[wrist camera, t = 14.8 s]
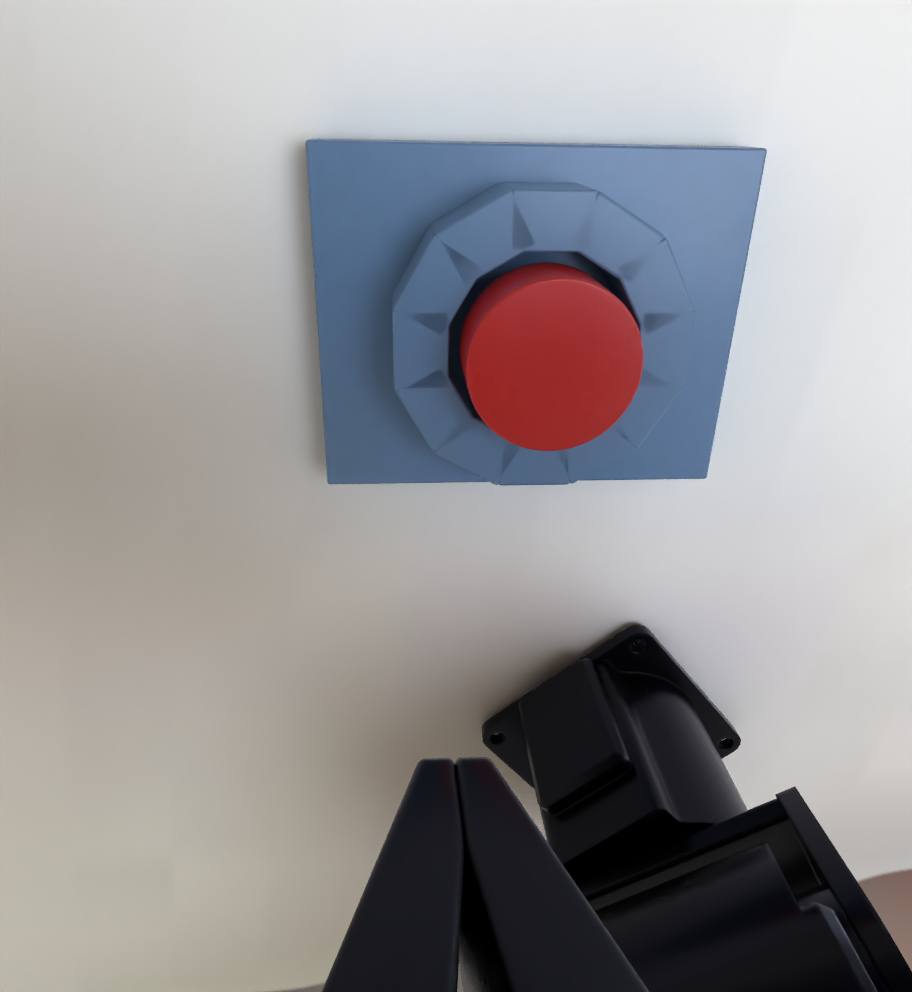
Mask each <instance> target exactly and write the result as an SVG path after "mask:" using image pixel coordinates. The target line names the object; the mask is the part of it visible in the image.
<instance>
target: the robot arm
mask: <svg viewBox="0 0 912 992" xmlns="http://www.w3.org/2000/svg"><path fill="white" fill-rule="evenodd" d="M638 639H641V640H642V641H641V642H640V643H639V644H636V645H632V643H633V642H634V641H636V640H638ZM496 732H502V733H501V734H498V735H493V733H496ZM482 737H483V742H484V744H485V745H486V746H487V747H488V748H489V749H490V750H491V751H492V752H493V753H495V754H496V755H497V756H498V757H499V758H500V759H501V760H502V761H504V762H505V763H506V764H507V765H508V766H509V767H510V768H511V769H513V770H514V771H515V772H516V773H517V774H518V775H519V776H520V777H521V778H523V779H524V780H525V781H526V782H527V783H528V784H529V785H530V786H532V787H533V788H534V789H535V791H536V796H537V801H538V804H539V806H540V810H541V815H542V820H543V824H544V829H545V834H546V839H547V841H546V840H545V838H544V837H543V835H542V834H541V832H540V831H539V829H538V828H537V826H536V825H535V823H534V822H533V820H532V819H531V818H530V816H529V815H528V813H527V812H526V810H525V809H524V807H523V806H522V804H521V803H520V801H519V800H518V799H517V797H516V796H515V794H514V793H513V791H512V790H511V788H510V787H509V785H508V784H507V782H506V781H505V779H504V778H503V777H502V775H501V774H500V772H499V771H498V769H497V768H496V766H495V765H494V763H493V762H492V761H491V760H490V759H488V758H486V757H469V758H459V759H457V760H456V762H455V764H454V762H453V760H452V759H450V758H428V759H422V760H420V761H419V762H418V764H417V766H416V768H415V771H414V773H413V776H412V778H411V780H410V783H409V785H408V787H407V790H406V792H405V795H404V797H403V799H402V802H401V804H400V807H399V809H398V811H397V814H396V816H395V818H394V821H393V823H392V826H391V828H390V830H389V833H388V835H387V838H386V840H385V842H384V845H383V847H382V849H381V852H380V854H379V857H378V859H377V861H376V864H375V866H374V868H373V871H372V873H371V876H370V878H369V880H368V883H367V885H366V888H365V890H364V892H363V895H362V897H361V899H360V902H359V904H358V907H357V909H356V911H355V914H354V916H353V919H352V921H351V923H350V926H349V928H348V930H347V933H346V935H345V938H344V940H343V942H342V945H341V947H340V949H339V952H338V954H337V957H336V959H335V961H334V964H333V966H332V969H331V971H330V973H329V976H328V978H327V980H326V983H325V985H324V988H323V990H322V992H457V981H458V964H459V963H460V971H461V978H462V985H463V991H464V992H912V971H911V970H910V968H909V966H908V965H907V963H906V961H905V959H904V958H903V956H902V954H901V953H900V951H899V949H898V947H897V946H896V944H895V942H894V941H893V939H892V937H891V935H890V934H889V932H888V931H887V929H886V927H885V925H884V924H883V922H882V921H881V919H880V917H879V916H878V914H877V912H876V911H875V909H874V908H873V906H872V904H871V903H870V901H869V900H868V898H867V897H866V895H865V893H864V892H863V890H862V889H861V887H860V886H859V884H858V883H857V881H856V879H855V878H854V876H853V875H852V873H851V872H850V870H849V869H848V867H847V866H846V864H845V863H844V861H843V859H842V858H841V856H840V855H839V853H838V852H837V850H836V849H835V847H834V846H833V844H832V843H831V841H830V839H829V838H828V836H827V835H826V833H825V832H824V830H823V829H822V827H821V826H820V824H819V823H818V821H817V820H816V818H815V816H814V815H813V813H812V812H811V810H810V809H809V807H808V806H807V804H806V803H805V801H804V800H803V798H802V796H801V795H800V793H799V792H798V790H797V789H796V787H792V788H790V789H788V790H785V791H783V792H780V793H778V794H776V797H777V798H776V799H774V800H772V801H769V802H767V803H764V804H762V805H760V806H757V807H755V808H752V809H750V810H747V808H746V806H745V804H744V802H743V800H742V798H741V796H740V795H739V793H738V791H737V789H736V787H735V785H734V783H733V781H732V779H731V777H730V775H729V773H728V771H727V769H726V767H725V765H724V763H723V761H722V758H724V757H725V756H727V755H729V754H730V753H732V752H734V751H735V750H736V749H737V748H738V747H739V745H740V741H741V739H740V737H739V735H738V734H737V732H736V730H735V728H734V727H733V726H732V724H731V723H730V722H729V721H728V720H727V719H726V718H725V716H724V715H723V714H722V713H721V712H720V711H719V710H718V708H717V707H716V706H715V705H714V704H713V703H712V702H711V700H710V699H709V698H708V697H707V696H706V695H705V693H704V692H703V691H702V690H701V689H700V688H699V687H698V685H697V684H696V683H695V682H694V681H693V680H692V679H691V677H690V676H689V675H688V674H687V673H686V672H685V671H684V669H683V668H682V667H681V666H680V665H679V664H678V662H677V661H676V660H675V659H674V658H673V657H672V656H671V654H670V653H669V652H668V651H667V650H666V649H665V648H664V646H663V645H662V644H661V643H660V642H659V641H658V640H657V638H656V637H655V636H654V635H653V634H652V633H651V631H650V630H649V629H647V628H646V627H645V626H641V625H635V626H631V627H629V628H627V629H625V630H623V631H622V632H620V633H619V634H617V635H616V636H614V637H613V638H611V639H610V640H608V641H607V642H605V643H604V644H602V645H601V646H599V647H598V648H596V649H595V650H593V651H592V652H590V653H589V654H587V655H586V656H584V657H583V658H581V659H580V660H578V661H577V662H575V663H574V664H572V665H570V666H569V667H567V668H566V669H564V670H563V671H561V672H560V673H558V674H557V675H555V676H554V677H552V678H551V679H549V680H548V681H546V682H545V683H543V684H542V685H540V686H539V687H537V688H536V689H534V690H533V691H531V692H530V693H528V694H527V695H525V696H524V697H522V698H521V699H519V700H518V701H516V702H514V703H513V704H511V705H510V706H508V707H507V708H505V709H504V710H502V711H501V712H499V713H498V714H496V715H495V716H493V717H492V718H490V719H489V720H487V721H486V722H485V723H484V724H483V726H482ZM725 738H726V739H725ZM722 739H725V740H722ZM721 740H722V741H721Z"/></svg>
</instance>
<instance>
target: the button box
mask: <svg viewBox="0 0 912 992" xmlns="http://www.w3.org/2000/svg"><path fill="white" fill-rule="evenodd" d="M766 152H767V151H766V149H765V148H754V147H736V146H682V145H627V144H572V143H518V142H463V141H408V140H354V139H311V140H308V141H306V153H307V169H308V184H309V200H310V215H311V231H312V247H313V262H314V278H315V293H316V309H317V324H318V340H319V356H320V371H321V387H322V402H323V418H324V434H325V449H326V465H327V480H328V484H376V483H441V482H491V483H493V484H496V485H497V484H499V485H557V484H569V482H570V483H574V482H576V481H578V480H638V479H704V478H706V477H707V472H708V466H709V461H710V455H711V450H712V445H713V439H714V434H715V428H716V423H717V417H718V412H719V407H720V401H721V396H722V390H723V385H724V379H725V374H726V369H727V363H728V358H729V352H730V347H731V342H732V336H733V331H734V325H735V320H736V314H737V309H738V304H739V298H740V293H741V287H742V282H743V277H744V271H745V266H746V260H747V255H748V249H749V244H750V239H751V233H752V228H753V222H754V217H755V211H756V206H757V201H758V195H759V190H760V184H761V179H762V174H763V168H764V163H765V157H766ZM543 262H550V263H560V264H565V265H569V266H572V267H574V268H577V269H579V270H581V271H583V272H585V273H587V274H588V275H590V276H591V277H592V278H594V279H595V280H596V281H598V282H599V283H600V284H601V285H603V286H604V287H605V288H606V289H608V290H609V291H610V292H611V293H613V294H614V295H615V296H616V297H617V298H618V299H619V300H620V301H621V302H622V303H623V304H624V305H625V306H626V307H627V309H628V310H629V311H630V313H631V314H632V316H633V318H634V320H635V322H636V324H637V326H638V329H639V332H640V335H641V339H642V344H643V356H644V358H643V370H642V375H641V380H640V383H639V386H638V389H637V391H636V393H635V395H634V398H633V400H632V402H631V403H630V405H629V406H628V408H627V409H626V411H625V412H624V413H623V415H622V416H621V417H620V418H619V419H618V420H617V421H616V422H615V423H614V424H613V425H612V426H611V427H610V428H609V429H608V430H606V431H605V432H604V433H602V434H601V435H599V436H598V437H596V438H594V439H593V440H591V441H589V442H586V443H584V444H582V445H579V446H576V447H573V448H569V449H564V450H557V451H537V450H532V449H526V448H523V447H520V446H517V445H515V444H512V443H510V442H508V441H506V440H505V439H503V438H501V437H500V436H498V435H497V434H496V433H495V432H493V431H492V430H491V429H490V428H489V427H488V426H487V425H486V424H485V423H484V421H483V420H482V419H481V417H480V416H479V414H478V413H477V411H476V409H475V407H474V405H473V403H472V401H471V398H470V395H469V392H468V388H467V384H466V381H465V377H464V373H463V370H462V365H461V360H460V336H461V332H462V327H463V324H464V321H465V318H466V316H467V313H468V312H469V310H470V308H471V306H472V304H473V303H474V301H475V300H476V298H477V297H478V296H479V294H480V293H481V292H482V291H483V290H484V289H485V288H486V287H487V286H488V285H489V284H490V283H492V282H493V281H494V280H495V279H497V278H498V277H500V276H501V275H503V274H504V273H506V272H508V271H510V270H513V269H515V268H518V267H521V266H524V265H528V264H533V263H543Z"/></svg>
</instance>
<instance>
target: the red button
mask: <svg viewBox="0 0 912 992" xmlns="http://www.w3.org/2000/svg"><path fill="white" fill-rule="evenodd" d="M643 358H644V356H643V344H642V339H641V335H640V332H639V329H638V326H637V324H636V322H635V320H634V318H633V316H632V314H631V313H630V311H629V310H628V309H627V307H626V306H625V305H624V304H623V303H622V302H621V301H620V300H619V299H618V298H617V297H616V296H615V295H614V294H613V293H611V292H610V291H609V290H608V289H606V288H605V287H604V286H603V285H601V284H600V283H599V282H598V281H596V280H595V279H594V278H592V277H591V276H590V275H588V274H587V273H585V272H583V271H581V270H579V269H577V268H574V267H572V266H569V265H565V264H560V263H550V262H543V263H533V264H528V265H524V266H521V267H518V268H515V269H513V270H510V271H508V272H506V273H504V274H503V275H501V276H500V277H498V278H497V279H495V280H494V281H493V282H492V283H490V284H489V285H488V286H487V287H486V288H485V289H484V290H483V291H482V292H481V293H480V294H479V296H478V297H477V298H476V300H475V301H474V303H473V304H472V306H471V308H470V310H469V312H468V313H467V316H466V318H465V321H464V324H463V327H462V332H461V336H460V360H461V365H462V370H463V373H464V377H465V381H466V384H467V388H468V392H469V395H470V398H471V401H472V403H473V405H474V407H475V409H476V411H477V413H478V414H479V416H480V417H481V419H482V420H483V421H484V423H485V424H486V425H487V426H488V427H489V428H490V429H491V430H492V431H493V432H495V433H496V434H497V435H498V436H500V437H501V438H503V439H505V440H506V441H508V442H510V443H512V444H515V445H517V446H520V447H523V448H526V449H532V450H537V451H557V450H564V449H569V448H573V447H576V446H579V445H582V444H584V443H586V442H589V441H591V440H593V439H594V438H596V437H598V436H599V435H601V434H602V433H604V432H605V431H606V430H608V429H609V428H610V427H611V426H612V425H613V424H614V423H615V422H616V421H617V420H618V419H619V418H620V417H621V416H622V415H623V413H624V412H625V411H626V409H627V408H628V406H629V405H630V403H631V402H632V400H633V398H634V395H635V393H636V391H637V389H638V386H639V383H640V380H641V375H642V370H643Z"/></svg>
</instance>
